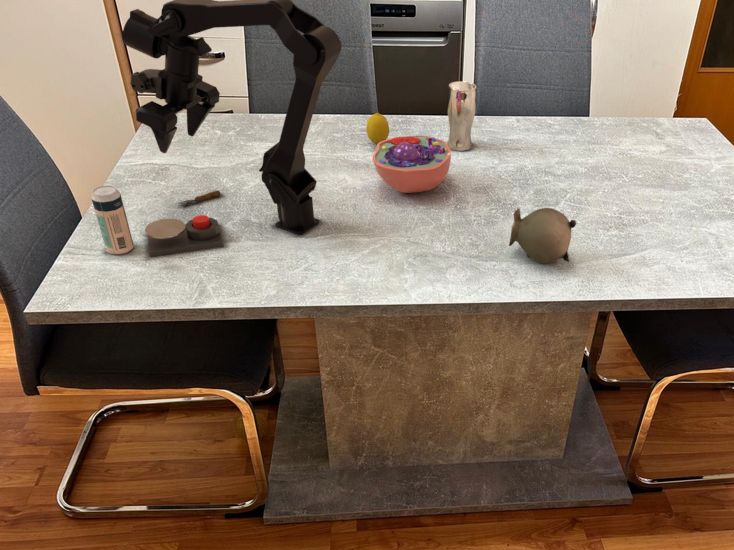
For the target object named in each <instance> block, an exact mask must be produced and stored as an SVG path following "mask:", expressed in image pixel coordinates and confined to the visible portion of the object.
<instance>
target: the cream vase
mask: <svg viewBox="0 0 734 550" xmlns="http://www.w3.org/2000/svg"><path fill="white" fill-rule="evenodd" d="M446 107H447V119H448V126H449V127H448V128H449V135H448V140H447V144H448V146H449V148H450V149H451V151H457V152H464V151H469V150H470V149H472V148H473V143H472V128H473V124H474V120H475V116H476V110H477V85H476V84H475V83H474V82H469V81H465V80H464V81H462V80H461V81H452V82H450V83H449V84H448V92H447V103H446Z"/></svg>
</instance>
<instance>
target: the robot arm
mask: <svg viewBox="0 0 734 550" xmlns="http://www.w3.org/2000/svg"><path fill="white" fill-rule="evenodd" d="M258 26H259V27H260V26H262V27H263V26H269V27H271V28H272V29H273V30H274V32H275V33H276V35H277V36H278V38H279V40H280V41H281V43H282V44H283V46H284V47H285V48H286V49H287V50H288V52H291V54H293V55H292V67H293V71H294V77H295V79H294V83H293V87H292V91H291V95H290V98H289V102H288V105H287V110H286V114H285V116H284V122H283V125H282V130H281V132H280V137H279V141H278V142H276V143H275V144H274V145H272V147H270V148H269V149H267V150H266V151H265V152H263V157H262V164H261V167H260V169H259V170H258V172H261V182H262V183H263V184H264V187H266V189H267V191H268V193H269V195H270V198H271V200H272V202H273V204H274V205H276V208H277V218H278V221H277V222H275V223H274V226H275V228H277V229H282V230H284V231H287V232H290V233H294V234H296V235H303V234H305V232H307V231H309V230H310V229H312V228H313V227H314V226H316V225H318V224H319V223H320V219H319V218H316V217H315V214H314V201H313V196H311V195H310V194H311V193H312V192H313V191H315V189H316V186H317V183H318V182H317V179H316V178H315V177H314V176H313V175H312V174H311V173H310V172H309V171H308V169H306V156H305V153H304V147H305V144H306V140H307V136H308V133H309V129H310V126H311V122H312V119H313V116H314V112H315V109H316V105H317V102H318V98H319V95H320V91H321V87H322V84H323V82H324V81H325V79H326V78H327V76H328V75H329V73H331V70H332V69H333V68H334V65H335V64H336V62H337V60H338V58H339V56H340V55H341V51H342V41H341V40H340V37H339V35H338V34H337V32H336V31H335V30H334V29H332V28H331V27H330V26H327V25H325V24H324V23H322V21H321V20H320V19H318V18H317V17H316V16H314V15H313V14H311V13H309V12H308V11H306V10H303V9H302V8H300V7H299V6H297V5H296V4H295V3H294V2H293V1H292V0H170V1H167V2H165V3H164V4H162V8H161V15H160V16H159V17H158V18H157V17H154V16H152V15H150V14H148V13H146V12H145V11H144V10H142V9H139V8H136V9H133V10H130V11H129V18H128V19H127V20H126V21H125V23H124V27H123V29H122V30H121V39H122V43H123V44H124V45H125V46H127V47H129V48H130V49H132V50H135V51H137V52H140V53H142V54H143V55H145V56H149V57H151V58H152V59H160V58H161V57H162V56H164V68H163V69H158V68H147V69H144V70H141V71H136V72H132V73H131V76H130V83H129V84H130V86H131V89H132V90H133V91H134V92H137V93H138V94H144V93H145V94H146V93H147V94H155V98H156V99H159V100H161V101H162V100H164V103H166V104H164V105H162V104H160V103H158V102H155V101H153V100H151V101H149V102H147V103H145V104H143V105H141V106H139V107H137V108H136V109H135V120H136V122H138V123H140V124H143V125H145V126H147V127H149V128H150V129H151V131H152V134H153V135H154V138H155V141H156V144H157V147H158V149H159V152H160V153H162V154H167V153H168V150H169V148H170V146H171V144H172V141H173V139H174V136H175V135H176V133H177V130H178V126H177V124H178V116H177V115H179V114H180V113H182V112H183V111H185V110H186V130H187V135H188V136H190V137H194V136H195V135H196V133H197V132H198V130H199V129H200V127H201V125H202V124H203V122H204V121H205V120H206V119H207V117H208V115H209V114H210V113H211V112H212V110H213V109H214V108H215V106H216V104H218V103H219V102H220V96H221V95H220V94H221V92H220V91H219V89H218V88H217V86H215V85H213V84H210V83H208V82H206V81H204V80H203V75H201V74H199V66H200V57H203V56H205V55H207V54H209V53H212V47H211V46H210V45H209V44H208V43H207V42H206V41H205V38H204V37H203V36H201V37H199V38H195V37H192V36H193V35H196V34H199V33H201V32H206V31H207V30H211V29H215V28H216V29H217V28H218V29H219V28H235V27H240V28H241V27H258Z"/></svg>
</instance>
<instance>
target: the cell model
mask: <svg viewBox="0 0 734 550" xmlns="http://www.w3.org/2000/svg"><path fill="white" fill-rule="evenodd" d="M451 160H452V149H450V148H449V146H448V142H446V141H445V140H443V139H440V138H437V137H434V136H428V135H409V136H406V135H404V136H394V137H391V138H387V139H386V140H384V141H381V142H379V143H378V144H376V150H375V152H374V153H373V154H372V161H373V164H374V169H375V171H376V174H377V175H378V176H379V177H380V178H381V180H382V181H384V183H385V184H386V185H387V186H388V187H390V188H391V189H393V190H395V191H397V192H400V193H402V194H403V193H404V194H413V193H414V194H415V193H422V192H429V191H431V190H434V189H435V188H436V187H438V186H439V185H440V184H441V183H442V182H443V181H444V180H445V179H446V177H447V175H448V173H449V170H450V166H451Z"/></svg>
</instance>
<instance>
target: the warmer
mask: <svg viewBox="0 0 734 550" xmlns="http://www.w3.org/2000/svg"><path fill="white" fill-rule="evenodd" d="M209 221H210V227H208V228H206V229H195V228H194V225H193V218H192V219H190V220H188V221H187V222H186V223H185V225H186V229H185V231H184V232H183V233H181V234H180V235H178V236H175V237H171V238H165V239H158V238H152V237H150V236H148V235H147V234H146V237H147V243H148V252H149V256H150V258H154V257H156V258H157V257H162V256H169V255H170V256H171V255H175V254H183V253H190V252H197V251H204V250H211V249H219V248H224V241H223V238H222V233H221V231H220V230H221V229H220V225H219V221H218V220H217V219H216V218H214V217H209Z"/></svg>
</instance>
